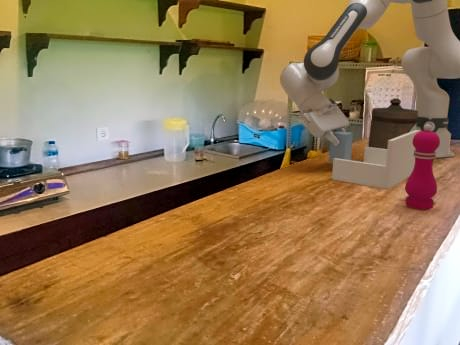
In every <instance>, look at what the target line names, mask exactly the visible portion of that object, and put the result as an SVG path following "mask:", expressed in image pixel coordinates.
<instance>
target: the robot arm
mask: <svg viewBox="0 0 460 345" xmlns="http://www.w3.org/2000/svg"><path fill="white" fill-rule="evenodd" d="M391 3H395V4H402V5H403V4H404V5H405V4H410V7H411V16H412V21H413V28H414V34H415V36H416V38H417V39H418V40H419V41H420V42H422V43H424V44H426V45H427V46H418V47H414V48H410V49H408V50H406V52H404V55H402V58H401V68H402V71H403V73H404V74H405V75H406V76H407V77H408V78H409V79H410V80H411V82H412V84H413V87H414V90H415V96H416V97H415V110H416V111H418V117H417V123H416V130H420V131H425V130H424V126H425V125H426V124H429V125H431V126H432V129H431V131H432V132H435V133H436V134H437V135H438V136H439V138H440V145H439V147H438V148H437V149H436V150H435V152H436V158H446V157H453V158H454V157H455V153H454V152H453V151H452V150H451V149H450V146H451V137H452V133H451V132H450V131H449V129H448V126H449V117H448V113H449V106H450V95H449V94H448V92H447V91H445V90H444V89H442V88H441V87H440V86H439V84H438V79H447V80H449V79H450V80H451V79H452V80H453V79H460V39H458V38H457V36H456V35H455V33H454V32H453V29H452V26H451V20H450V16H449V8H448V2H447V0H349V1H348V3H347V5H346V7H345V9H344V11H343V12H342V13H341V15H340V16H339V18H338V19H337V20H336V22H335V23H334V24H333V26H332V27H331V28H330V30H329V31H328V32H327V33H326V34H325V36H324V37H323V38H322V39H321V40H320V41H319V42H317V43H316V44H314V45H313V46H311V47H310V48H309V49H308V50H307V51H306V53H305V55H304V57H303V62H291V63H290V64H288V65H287V66H285V68H284V69H283V70H282V71H281V73H280V77H279V83H280V85H281V87H282V89H283V91H284V92H285V95H287V96H288V98H289V99H290V100H291V101H292V102H294V103H295V105H296V107H297V109H298V111H299V112H300V113H301V116H302V118H303V123H304V125H305V126H306V128H307V129H308V131H309V132H310V134H311V135H312V137H314V138H317V139H319V138H323V137H325V139H327V140H328V141H329V142H330V141H331V142H332V143H333V144H334V145H335V146H338V145H339V144H340V143H341V141H340V140H339V138H336V137H335V136H334V135H333V132H336V131H342V132H347V131H346V129H347V128H349V126H350V121H349V120H348V118H347V116H346V115H345V114H344V113H343V111H342V110H341V109H340V107H338V106H337V105H338V103H337V101H336V100H335V99H333V98H329V97H328V96H327V95H325V94H324V93H323V91H326V90H328V89H330V88H331V87H332V86H334V85H336V83H337V82H338V80H339V77H340V67H339V63H340V56H341V53H342V51H343V49H344V48H345V47H346V45H347V44H348V42H349V41H350V40H351V38H352V37H354V36H353V35H354V34H355V33H356V32H357V31H358V30H368V29H371V28H373V27H374V26H375V25H376V24H377V22H378V21H379V20H380V19H381V18H382V16H383V15H384V14H385V13H386V12H387V9H388V8H389V6H390V4H391Z"/></svg>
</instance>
